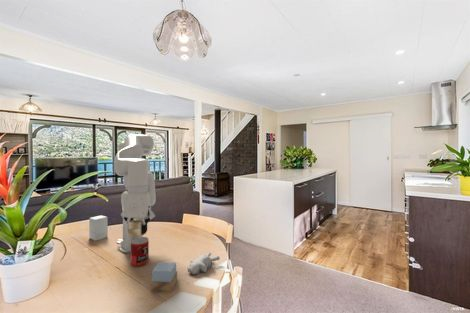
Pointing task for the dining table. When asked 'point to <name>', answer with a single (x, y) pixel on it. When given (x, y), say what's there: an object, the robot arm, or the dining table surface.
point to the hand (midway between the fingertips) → (137, 232)
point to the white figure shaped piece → (201, 263)
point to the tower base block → (164, 285)
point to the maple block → (135, 228)
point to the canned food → (139, 251)
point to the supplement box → (98, 227)
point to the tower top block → (164, 272)
